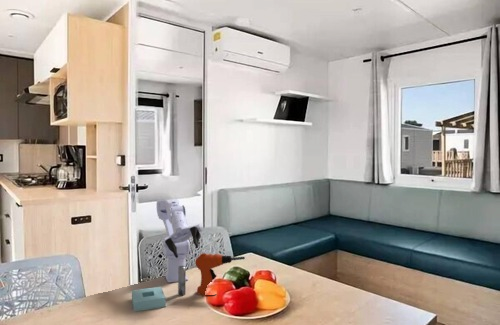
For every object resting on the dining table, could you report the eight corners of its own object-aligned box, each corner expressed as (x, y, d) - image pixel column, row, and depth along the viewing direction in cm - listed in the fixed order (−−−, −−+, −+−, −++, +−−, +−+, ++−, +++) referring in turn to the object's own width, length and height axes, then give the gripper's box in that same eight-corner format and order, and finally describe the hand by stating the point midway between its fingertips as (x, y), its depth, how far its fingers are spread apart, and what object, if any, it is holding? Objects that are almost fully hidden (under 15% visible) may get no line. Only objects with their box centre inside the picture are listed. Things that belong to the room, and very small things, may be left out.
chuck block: (131, 298, 122) (131, 290, 122) (161, 294, 126) (161, 286, 126) (133, 311, 113) (133, 302, 113) (165, 306, 117) (165, 297, 117)
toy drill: (248, 293, 125) (243, 251, 124) (196, 297, 126) (191, 256, 126) (249, 288, 130) (244, 247, 129) (199, 292, 131) (194, 252, 131)
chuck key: (177, 293, 128) (177, 266, 127) (184, 292, 129) (184, 265, 128) (178, 296, 125) (179, 268, 125) (186, 295, 126) (186, 267, 126)
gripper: (157, 228, 131) (161, 252, 120) (193, 211, 133) (201, 233, 121) (165, 240, 135) (170, 265, 123) (200, 224, 136) (208, 247, 125)
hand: (186, 250), depth 123 cm, fingers open, 7 cm apart
